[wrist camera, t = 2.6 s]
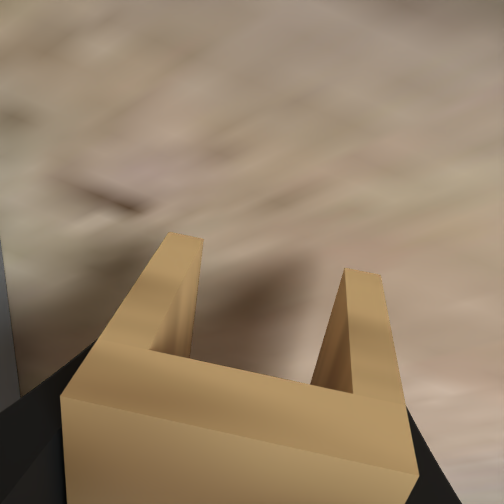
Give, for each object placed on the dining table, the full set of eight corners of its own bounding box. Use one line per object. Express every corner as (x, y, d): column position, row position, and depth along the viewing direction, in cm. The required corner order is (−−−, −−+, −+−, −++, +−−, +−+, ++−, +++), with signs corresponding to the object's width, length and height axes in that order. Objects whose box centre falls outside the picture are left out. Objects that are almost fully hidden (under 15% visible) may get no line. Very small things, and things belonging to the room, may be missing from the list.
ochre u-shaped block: (328, 428, 13) (329, 649, 9) (156, 390, 13) (72, 587, 9) (380, 274, 10) (419, 475, 6) (168, 231, 11) (60, 395, 6)
